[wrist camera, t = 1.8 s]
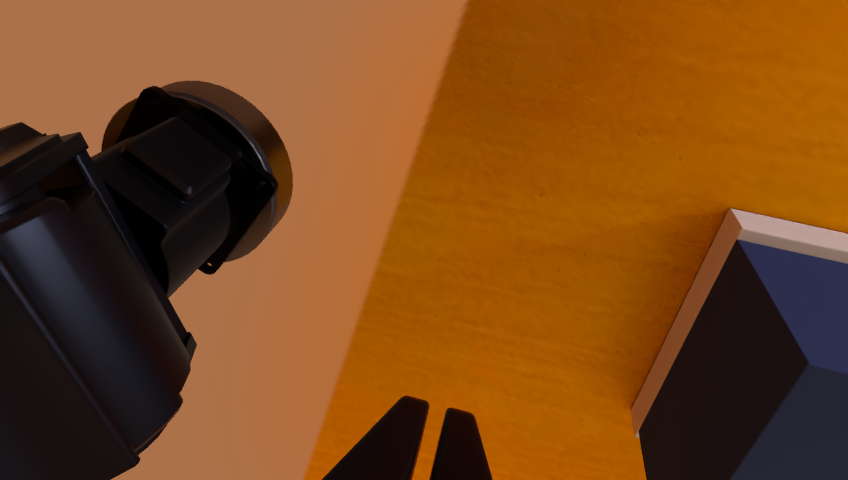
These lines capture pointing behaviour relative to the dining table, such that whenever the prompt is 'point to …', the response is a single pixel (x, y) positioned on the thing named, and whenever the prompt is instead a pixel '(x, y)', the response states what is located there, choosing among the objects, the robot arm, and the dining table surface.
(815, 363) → the navy stepped block
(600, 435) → the dining table surface
